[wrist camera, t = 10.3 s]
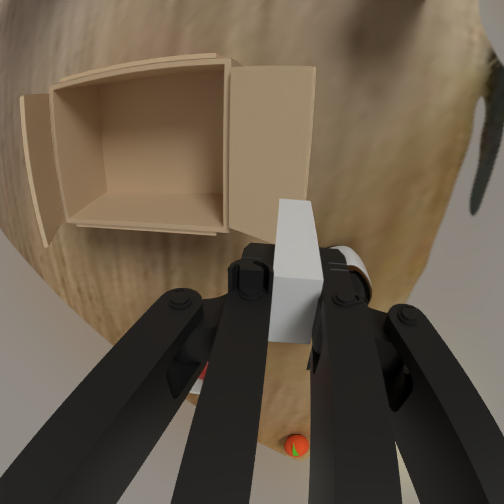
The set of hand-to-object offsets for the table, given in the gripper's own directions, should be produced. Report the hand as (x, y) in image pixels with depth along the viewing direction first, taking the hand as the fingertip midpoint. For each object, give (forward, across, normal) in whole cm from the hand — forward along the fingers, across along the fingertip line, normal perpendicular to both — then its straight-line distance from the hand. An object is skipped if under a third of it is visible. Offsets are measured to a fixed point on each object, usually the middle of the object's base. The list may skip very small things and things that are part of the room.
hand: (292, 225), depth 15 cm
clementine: (+26, +10, -75) cm, 80 cm away
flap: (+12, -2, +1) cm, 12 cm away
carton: (+26, -17, +1) cm, 31 cm away
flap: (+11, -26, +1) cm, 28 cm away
